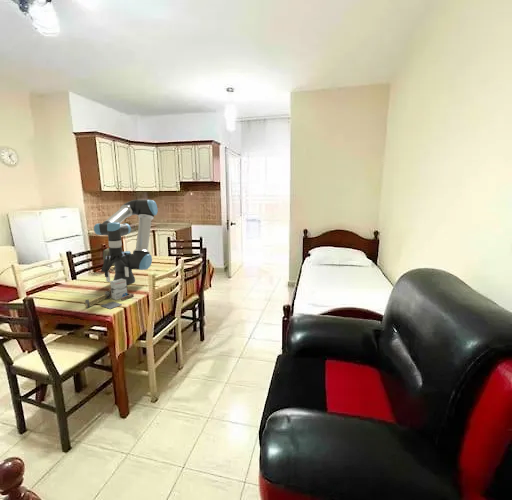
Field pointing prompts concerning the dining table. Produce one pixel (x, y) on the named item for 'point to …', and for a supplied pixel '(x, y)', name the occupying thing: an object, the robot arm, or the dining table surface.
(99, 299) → the brass lever
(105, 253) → the tabletop clock
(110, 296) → the walnut cradle
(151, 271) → the dining table surface
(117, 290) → the ink box
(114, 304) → the charcoal mat
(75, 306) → the dining table surface
